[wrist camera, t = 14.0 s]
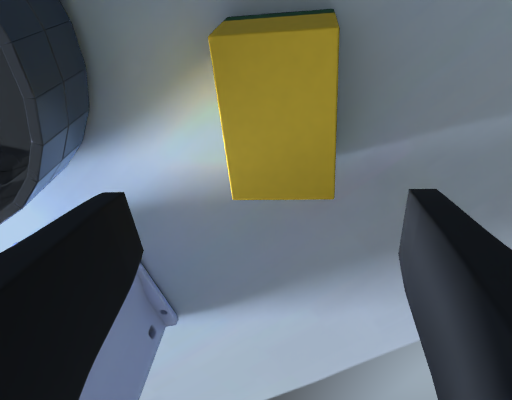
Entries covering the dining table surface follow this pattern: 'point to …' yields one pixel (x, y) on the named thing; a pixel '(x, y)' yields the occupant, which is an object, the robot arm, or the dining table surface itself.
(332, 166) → the sponge
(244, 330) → the dining table surface
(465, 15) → the dining table surface
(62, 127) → the bowl
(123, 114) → the dining table surface
